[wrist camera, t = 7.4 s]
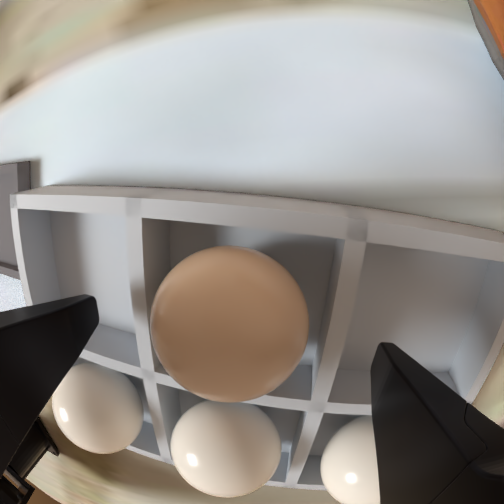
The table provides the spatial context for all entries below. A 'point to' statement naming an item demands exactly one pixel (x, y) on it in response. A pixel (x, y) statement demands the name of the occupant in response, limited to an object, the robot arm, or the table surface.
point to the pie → (491, 28)
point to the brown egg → (229, 324)
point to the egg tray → (303, 271)
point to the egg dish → (4, 183)
